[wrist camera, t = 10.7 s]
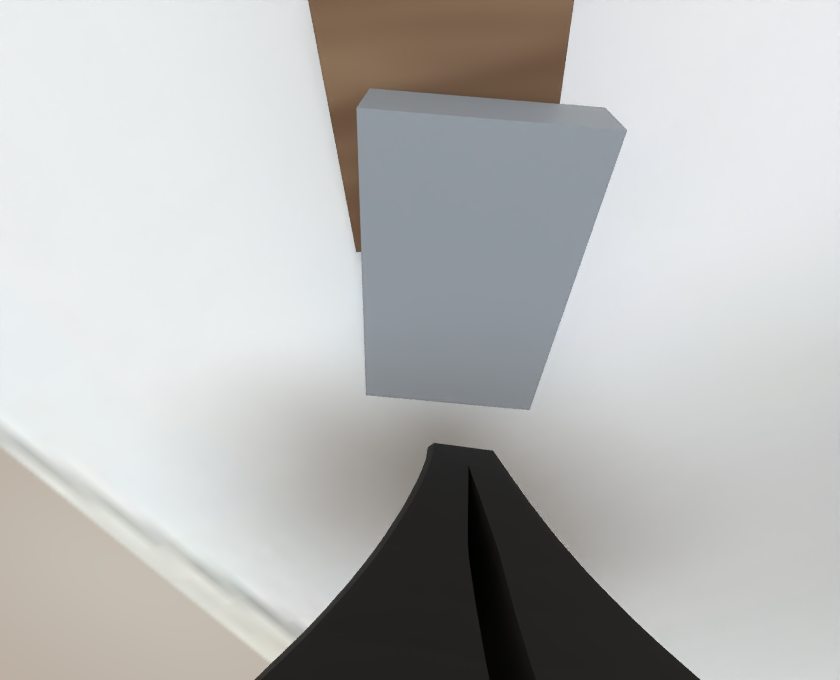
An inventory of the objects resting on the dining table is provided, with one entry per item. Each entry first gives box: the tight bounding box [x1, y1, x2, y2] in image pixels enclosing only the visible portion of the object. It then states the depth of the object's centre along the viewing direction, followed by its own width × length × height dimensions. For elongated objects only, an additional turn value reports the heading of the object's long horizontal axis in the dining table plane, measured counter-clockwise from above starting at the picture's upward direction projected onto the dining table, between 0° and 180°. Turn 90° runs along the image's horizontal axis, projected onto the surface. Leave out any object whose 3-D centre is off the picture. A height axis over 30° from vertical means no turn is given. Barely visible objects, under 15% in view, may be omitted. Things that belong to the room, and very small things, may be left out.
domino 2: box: [357, 88, 627, 410], centre depth 11 cm, size 2×5×8 cm
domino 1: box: [308, 0, 574, 252], centre depth 10 cm, size 2×5×8 cm
